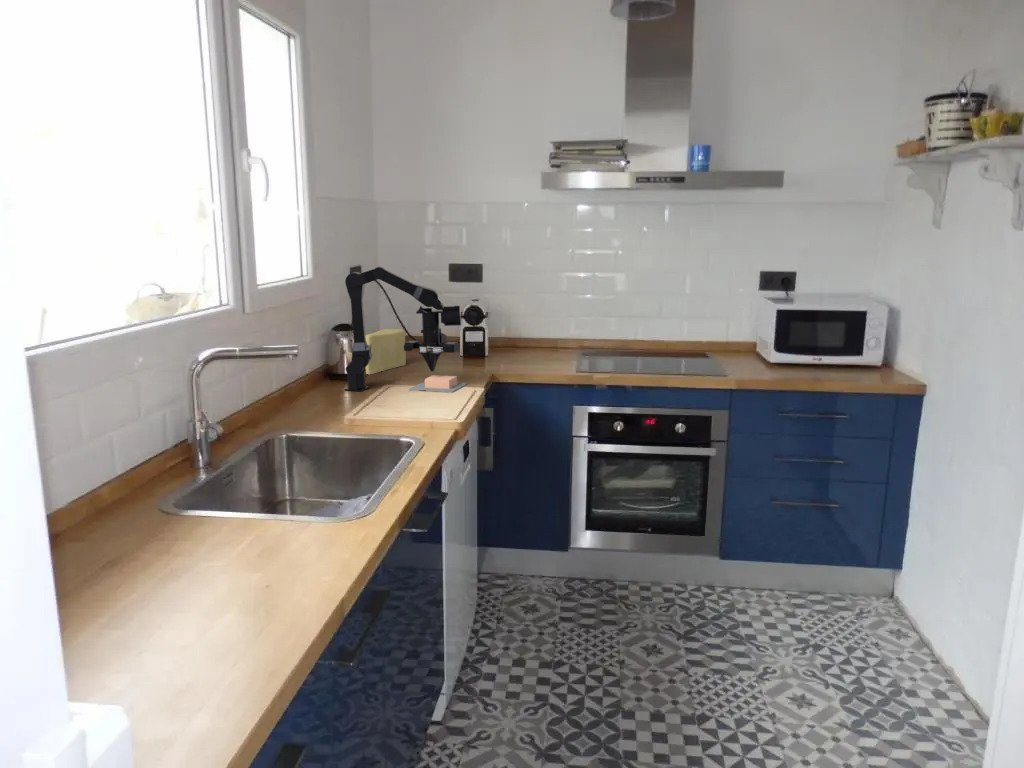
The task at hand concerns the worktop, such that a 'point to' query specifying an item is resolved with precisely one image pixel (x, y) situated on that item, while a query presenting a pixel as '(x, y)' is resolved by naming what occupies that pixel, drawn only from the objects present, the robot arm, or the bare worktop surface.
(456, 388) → the mat
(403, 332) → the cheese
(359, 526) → the worktop surface
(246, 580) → the worktop surface
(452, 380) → the slab
